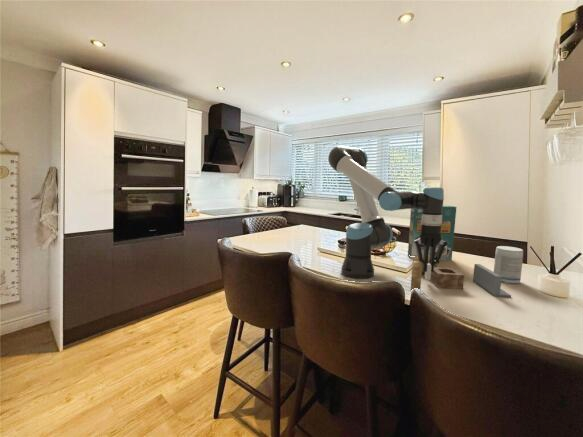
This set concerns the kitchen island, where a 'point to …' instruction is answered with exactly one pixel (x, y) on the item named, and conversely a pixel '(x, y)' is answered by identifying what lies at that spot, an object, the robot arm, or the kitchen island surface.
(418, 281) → the dowel
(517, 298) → the kitchen island surface
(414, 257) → the potato
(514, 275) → the supplement tub
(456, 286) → the block
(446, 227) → the cake mix box
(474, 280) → the bracket
